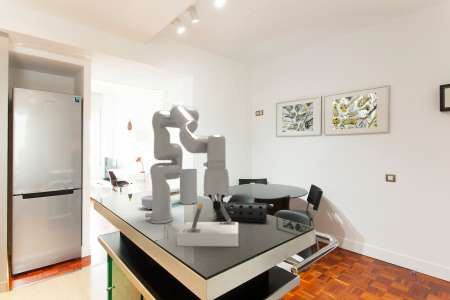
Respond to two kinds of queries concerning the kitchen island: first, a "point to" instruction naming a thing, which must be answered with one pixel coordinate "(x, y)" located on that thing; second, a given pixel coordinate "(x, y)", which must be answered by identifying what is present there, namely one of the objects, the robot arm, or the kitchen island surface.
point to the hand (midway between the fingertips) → (216, 210)
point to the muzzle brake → (243, 211)
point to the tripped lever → (196, 217)
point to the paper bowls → (147, 202)
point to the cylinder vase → (188, 186)
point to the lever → (225, 214)
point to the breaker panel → (208, 234)
